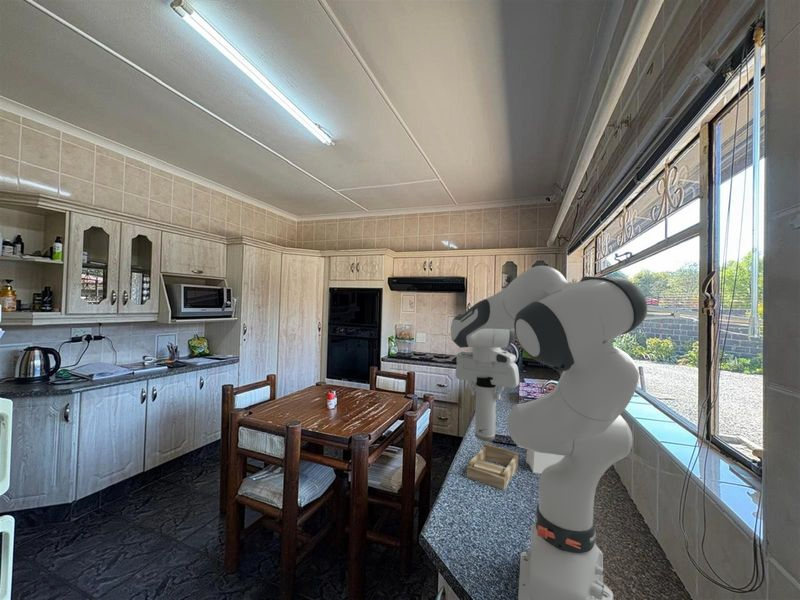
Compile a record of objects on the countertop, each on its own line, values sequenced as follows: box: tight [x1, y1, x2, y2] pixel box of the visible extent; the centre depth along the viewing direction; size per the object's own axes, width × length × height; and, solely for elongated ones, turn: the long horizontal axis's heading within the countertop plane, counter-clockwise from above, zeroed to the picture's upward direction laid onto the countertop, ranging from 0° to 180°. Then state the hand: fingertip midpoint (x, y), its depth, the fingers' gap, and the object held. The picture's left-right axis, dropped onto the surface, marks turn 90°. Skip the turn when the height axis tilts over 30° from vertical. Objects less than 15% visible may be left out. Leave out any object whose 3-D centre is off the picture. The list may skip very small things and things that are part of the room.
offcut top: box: [474, 460, 504, 476], centre depth 111 cm, size 5×9×2 cm, turn 60°
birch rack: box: [466, 443, 519, 491], centre depth 115 cm, size 18×13×7 cm
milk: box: [525, 449, 564, 474], centre depth 120 cm, size 12×12×26 cm
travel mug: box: [474, 377, 497, 442], centre depth 102 cm, size 6×7×20 cm
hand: (485, 396), depth 102 cm, fingers closed on travel mug, 6 cm apart
